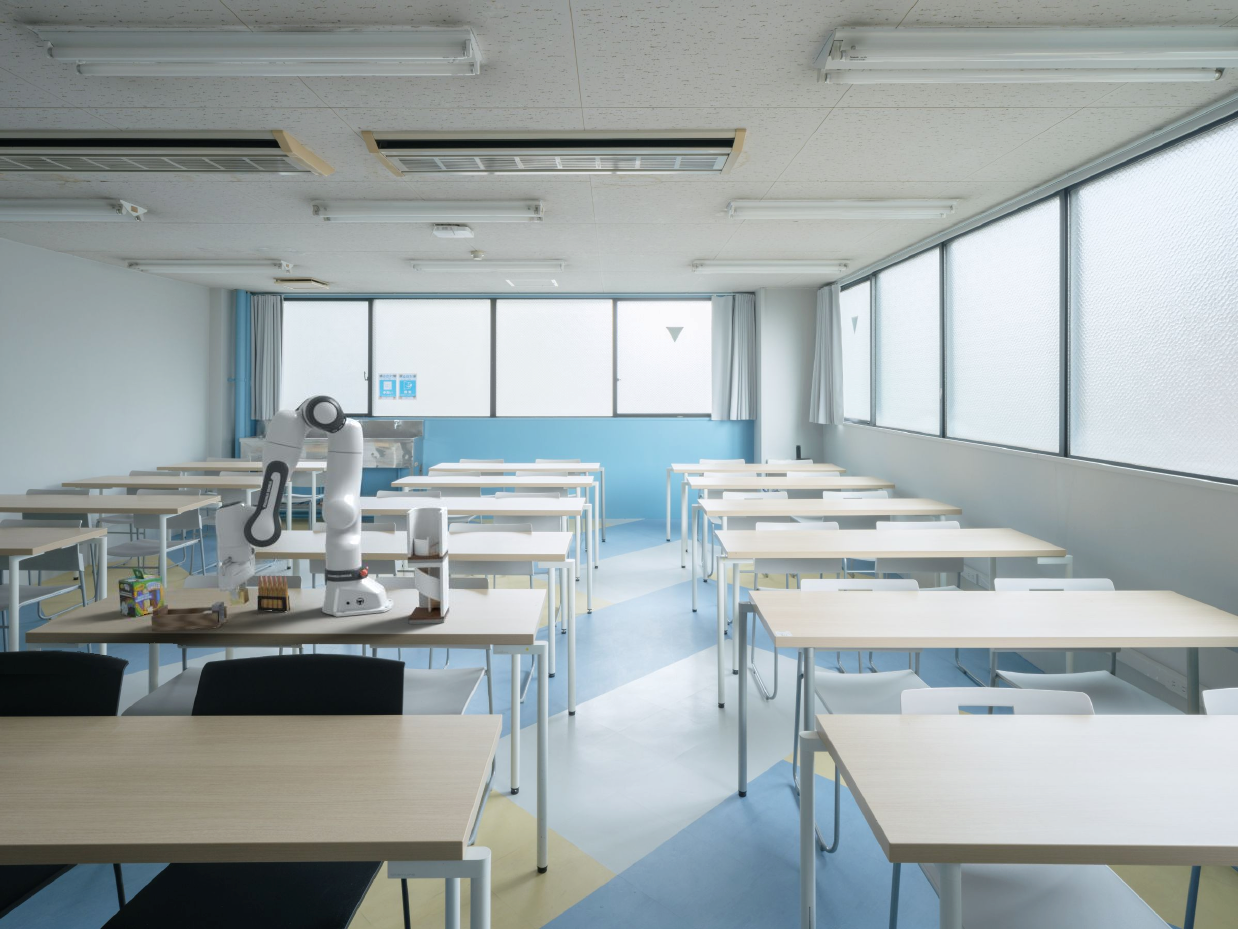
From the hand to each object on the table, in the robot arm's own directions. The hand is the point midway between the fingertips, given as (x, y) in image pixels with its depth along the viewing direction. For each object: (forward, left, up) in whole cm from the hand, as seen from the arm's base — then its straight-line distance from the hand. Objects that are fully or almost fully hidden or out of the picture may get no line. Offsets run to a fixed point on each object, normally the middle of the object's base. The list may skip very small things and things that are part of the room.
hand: (239, 597), depth 212 cm
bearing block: (+14, 0, -8) cm, 16 cm away
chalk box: (+36, -18, -8) cm, 41 cm away
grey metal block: (+8, 0, -7) cm, 10 cm away
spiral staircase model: (-58, +4, -8) cm, 59 cm away
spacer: (0, 0, -2) cm, 2 cm away
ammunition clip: (-6, -13, -8) cm, 16 cm away
